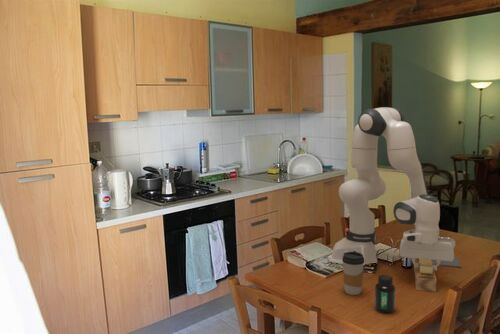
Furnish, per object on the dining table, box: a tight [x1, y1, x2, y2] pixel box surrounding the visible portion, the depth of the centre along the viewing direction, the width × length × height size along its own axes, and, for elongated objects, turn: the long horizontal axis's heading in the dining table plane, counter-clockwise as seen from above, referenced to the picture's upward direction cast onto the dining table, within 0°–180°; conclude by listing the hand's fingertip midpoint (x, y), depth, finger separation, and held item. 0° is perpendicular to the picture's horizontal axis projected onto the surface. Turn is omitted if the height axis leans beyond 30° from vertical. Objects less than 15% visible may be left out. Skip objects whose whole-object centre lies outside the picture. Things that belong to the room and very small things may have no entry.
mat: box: [431, 255, 462, 269], centre depth 193 cm, size 12×12×1 cm
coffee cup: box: [342, 252, 364, 296], centre depth 164 cm, size 8×8×15 cm
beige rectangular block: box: [418, 259, 433, 277], centre depth 169 cm, size 4×9×4 cm, turn 162°
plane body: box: [413, 258, 437, 293], centre depth 173 cm, size 7×20×8 cm, turn 162°
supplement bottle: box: [374, 274, 396, 314], centre depth 150 cm, size 7×7×12 cm
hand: (425, 269), depth 170 cm, fingers open, 5 cm apart
